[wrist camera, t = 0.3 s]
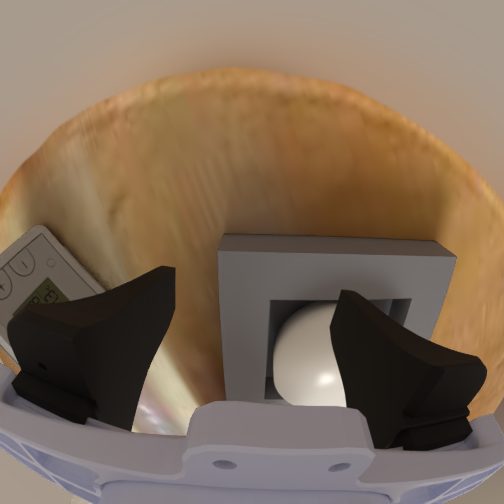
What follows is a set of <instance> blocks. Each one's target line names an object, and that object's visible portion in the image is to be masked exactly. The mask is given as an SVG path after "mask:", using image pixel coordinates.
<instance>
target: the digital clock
mask: <svg viewBox="0 0 504 504" xmlns="http://www.w3.org/2000/svg"><path fill="white" fill-rule="evenodd" d="M106 291H107V290H106V289H105V288H104V287H103V286H102V285H101V284H100V283H99V282H98V281H97V280H96V279H95V278H94V277H93V276H92V275H91V274H90V273H89V272H88V271H87V270H86V269H85V268H84V267H83V266H82V265H81V264H80V263H79V262H78V261H77V259H76V258H75V257H74V256H73V255H72V254H71V253H70V252H69V251H68V250H67V248H66V247H65V246H64V247H63V246H62V245H61V244H60V243H59V242H58V240H57V239H56V238H55V237H54V236H53V235H52V233H51V232H50V231H49V230H48V229H47V228H46V227H45V226H43V225H41V224H40V225H36V226H34V227H32V228H31V229H30V230H28V231H27V232H26V233H25V234H23V235H22V236H21V237H20V238H19V239H17V240H16V241H15V242H14V243H13V244H12V245H10V246H9V247H8V248H7V249H6V250H5V251H3V252H2V253H1V254H0V347H1V348H2V349H3V350H4V351H5V353H6V354H7V355H8V356H9V357H10V358H11V359H12V360H13V361H14V362H15V363H16V364H17V365H18V366H19V364H18V361H17V359H16V357H15V355H14V353H13V350H12V348H11V346H10V343H9V340H8V336H7V324H8V322H9V321H10V320H11V319H12V318H13V317H14V316H15V315H16V314H17V313H18V312H19V311H20V310H21V309H22V308H23V307H24V306H25V305H27V304H44V303H58V302H66V301H72V300H77V299H81V298H85V297H89V296H94V295H97V294H100V293H103V292H106ZM19 367H20V366H19Z"/></svg>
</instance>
